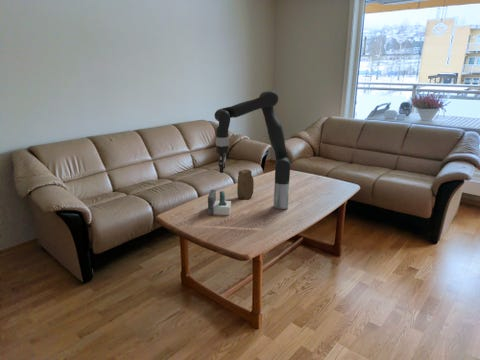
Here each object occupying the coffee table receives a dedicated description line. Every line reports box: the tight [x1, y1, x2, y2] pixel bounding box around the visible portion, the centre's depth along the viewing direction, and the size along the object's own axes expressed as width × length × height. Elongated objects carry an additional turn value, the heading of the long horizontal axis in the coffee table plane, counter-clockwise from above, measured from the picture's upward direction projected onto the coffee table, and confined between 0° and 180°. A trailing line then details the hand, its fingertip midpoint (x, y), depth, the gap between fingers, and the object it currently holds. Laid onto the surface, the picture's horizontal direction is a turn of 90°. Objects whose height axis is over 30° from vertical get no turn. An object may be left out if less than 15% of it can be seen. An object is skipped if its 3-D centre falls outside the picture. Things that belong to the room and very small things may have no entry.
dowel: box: [219, 190, 226, 206], centre depth 213 cm, size 3×3×12 cm
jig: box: [207, 189, 217, 216], centre depth 213 cm, size 20×13×13 cm, turn 86°
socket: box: [213, 200, 232, 216], centre depth 214 cm, size 10×10×5 cm
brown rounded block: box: [236, 168, 255, 200], centre depth 238 cm, size 11×8×20 cm
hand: (222, 170), depth 206 cm, fingers open, 8 cm apart
